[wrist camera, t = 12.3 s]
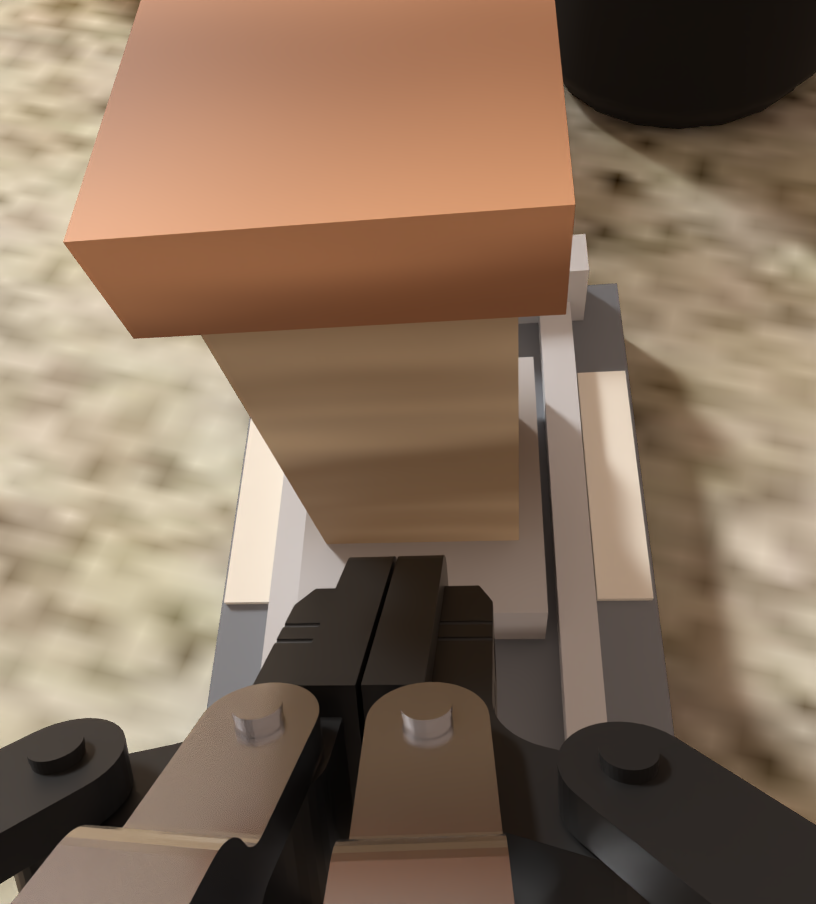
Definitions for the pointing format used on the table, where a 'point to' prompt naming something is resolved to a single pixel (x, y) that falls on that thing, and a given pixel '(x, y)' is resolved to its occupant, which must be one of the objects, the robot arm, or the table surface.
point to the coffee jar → (685, 56)
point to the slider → (354, 256)
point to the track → (565, 542)
